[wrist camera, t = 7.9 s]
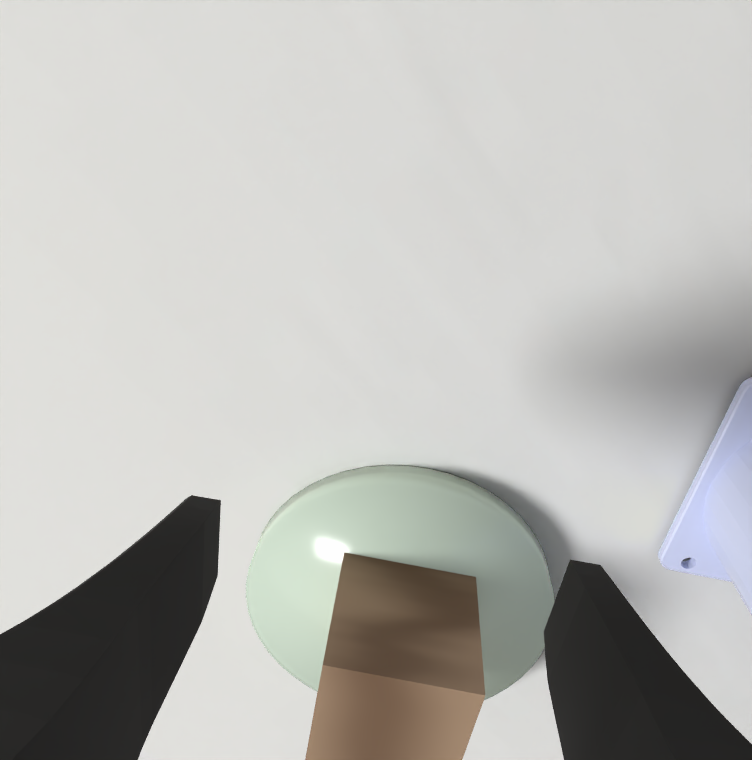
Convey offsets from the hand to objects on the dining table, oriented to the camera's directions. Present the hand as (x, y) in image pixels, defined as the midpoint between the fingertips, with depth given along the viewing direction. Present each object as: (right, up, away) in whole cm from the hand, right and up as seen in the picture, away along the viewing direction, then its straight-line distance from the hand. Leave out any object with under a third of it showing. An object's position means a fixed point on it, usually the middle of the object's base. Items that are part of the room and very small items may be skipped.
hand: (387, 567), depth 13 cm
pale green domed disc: (+1, -5, +13) cm, 14 cm away
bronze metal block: (+1, -5, +12) cm, 13 cm away
